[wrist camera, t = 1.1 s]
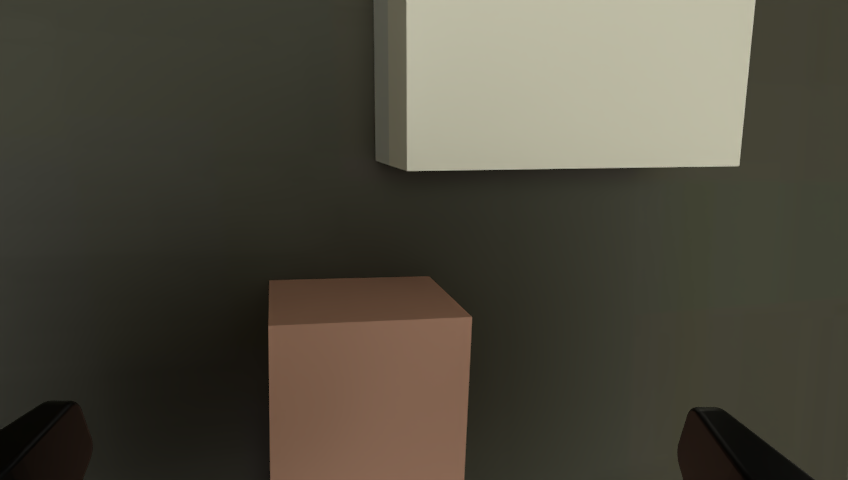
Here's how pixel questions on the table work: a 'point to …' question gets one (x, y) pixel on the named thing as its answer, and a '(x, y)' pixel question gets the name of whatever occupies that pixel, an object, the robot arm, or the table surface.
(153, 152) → the table surface
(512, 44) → the white foam block
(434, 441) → the coral brick
